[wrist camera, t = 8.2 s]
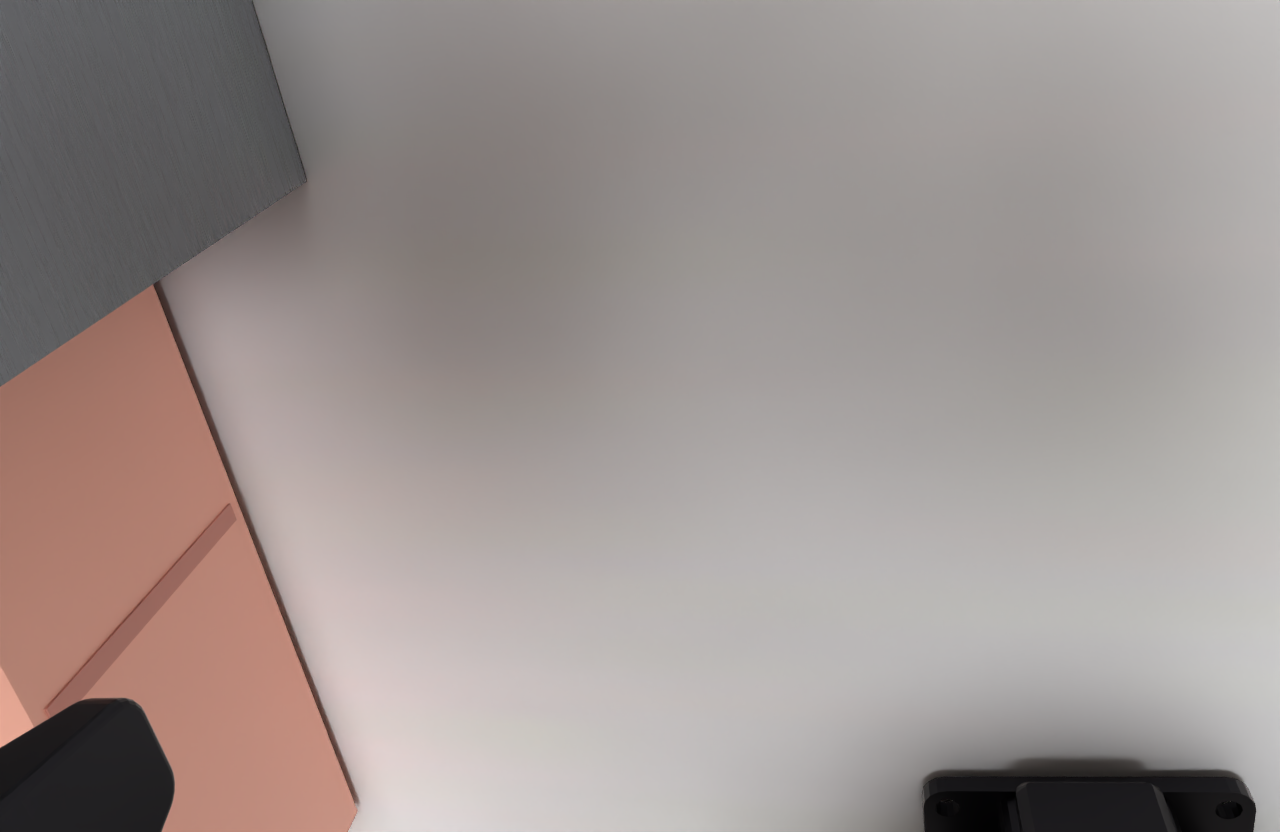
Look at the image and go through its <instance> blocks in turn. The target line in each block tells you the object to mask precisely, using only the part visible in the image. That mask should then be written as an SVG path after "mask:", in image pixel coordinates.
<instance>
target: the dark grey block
mask: <svg viewBox="0 0 1280 832" xmlns="http://www.w3.org/2000/svg"><path fill="white" fill-rule="evenodd" d="M306 181H307V180H306V177H305V174H304V171H303V167H302V164H301V161H300V158H299V154H298V151H297V148H296V145H295V141H294V138H293V135H292V131H291V128H290V125H289V122H288V118H287V115H286V112H285V109H284V105H283V102H282V99H281V96H280V92H279V89H278V86H277V82H276V79H275V76H274V73H273V69H272V66H271V63H270V60H269V56H268V53H267V50H266V47H265V43H264V40H263V37H262V34H261V30H260V27H259V24H258V20H257V17H256V14H255V11H254V7H253V4H252V1H251V0H0V387H1V386H2V385H4V384H5V383H7V382H8V381H10V380H11V379H13V378H14V377H16V376H17V375H19V374H20V373H22V372H23V371H24V370H26V369H27V368H29V367H30V366H32V365H33V364H35V363H36V362H38V361H39V360H41V359H42V358H44V357H45V356H47V355H48V354H50V353H51V352H53V351H54V350H56V349H57V348H59V347H60V346H62V345H63V344H65V343H66V342H68V341H69V340H71V339H72V338H74V337H75V336H77V335H78V334H80V333H81V332H83V331H84V330H86V329H87V328H89V327H90V326H92V325H93V324H95V323H96V322H98V321H99V320H101V319H102V318H103V317H105V316H106V315H108V314H109V313H111V312H112V311H114V310H115V309H117V308H118V307H120V306H121V305H123V304H124V303H126V302H127V301H129V300H130V299H132V298H133V297H135V296H136V295H138V294H139V293H141V292H142V291H144V290H145V289H147V288H148V287H150V286H151V285H153V284H154V283H156V282H157V281H159V280H160V279H162V278H163V277H165V276H166V275H168V274H169V273H171V272H172V271H174V270H175V269H177V268H178V267H179V266H181V265H182V264H184V263H185V262H187V261H188V260H190V259H191V258H193V257H194V256H196V255H197V254H199V253H200V252H202V251H203V250H205V249H206V248H208V247H209V246H211V245H212V244H214V243H215V242H217V241H218V240H220V239H221V238H223V237H224V236H226V235H227V234H229V233H230V232H232V231H233V230H235V229H236V228H238V227H239V226H241V225H242V224H244V223H245V222H247V221H248V220H250V219H251V218H253V217H254V216H255V215H257V214H258V213H260V212H261V211H263V210H264V209H266V208H267V207H269V206H270V205H272V204H273V203H275V202H276V201H278V200H279V199H281V198H282V197H284V196H285V195H287V194H288V193H290V192H291V191H293V190H294V189H296V188H297V187H299V186H300V185H302V184H303V183H305V182H306Z"/></svg>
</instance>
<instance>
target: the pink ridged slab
mask: <svg viewBox="0 0 1280 832" xmlns="http://www.w3.org/2000/svg"><path fill="white" fill-rule="evenodd" d="M90 698H128V699H132V700H134V701H135V702H136V703H138V704H139V705H140V706H141V707H142V708H143V710H144V712H145V713H146V715H147V718H148V720H149V722H150V724H151V726H152V728H153V730H154V732H155V734H156V736H157V738H158V740H159V742H160V745H161V747H162V749H163V751H164V753H165V755H166V757H167V759H168V761H169V763H170V765H171V767H172V770H173V773H174V779H175V793H174V799H173V803H172V806H171V809H170V811H169V814H168V817H167V819H166V822H165V824H164V827H163V830H162V832H348V830H349V828H350V826H351V824H352V822H353V820H354V818H355V816H356V814H357V812H358V811H357V808H356V806H355V803H354V800H353V798H352V795H351V793H350V790H349V787H348V785H347V782H346V780H345V777H344V775H343V772H342V769H341V767H340V764H339V762H338V759H337V757H336V754H335V751H334V749H333V746H332V744H331V741H330V739H329V736H328V733H327V731H326V728H325V726H324V723H323V721H322V718H321V715H320V713H319V710H318V708H317V705H316V703H315V700H314V697H313V695H312V692H311V690H310V687H309V685H308V682H307V679H306V677H305V674H304V672H303V669H302V666H301V664H300V661H299V659H298V656H297V654H296V651H295V648H294V646H293V643H292V641H291V638H290V636H289V633H288V630H287V628H286V625H285V623H284V620H283V618H282V615H281V612H280V610H279V607H278V605H277V602H276V600H275V597H274V594H273V592H272V589H271V587H270V584H269V582H268V579H267V576H266V574H265V571H264V569H263V566H262V564H261V561H260V558H259V556H258V553H257V551H256V548H255V545H254V543H253V540H252V538H251V535H250V533H249V530H248V527H247V525H246V522H245V520H244V517H243V515H242V512H241V509H240V507H239V504H238V502H237V499H236V497H235V494H234V491H233V489H232V486H231V484H230V481H229V479H228V476H227V473H226V471H225V468H224V466H223V463H222V461H221V458H220V455H219V453H218V450H217V448H216V445H215V443H214V440H213V437H212V435H211V432H210V430H209V427H208V424H207V422H206V419H205V417H204V414H203V412H202V409H201V406H200V404H199V401H198V399H197V396H196V394H195V391H194V388H193V386H192V383H191V381H190V378H189V376H188V373H187V370H186V368H185V365H184V363H183V360H182V358H181V355H180V352H179V350H178V347H177V345H176V342H175V340H174V337H173V334H172V332H171V329H170V327H169V324H168V322H167V319H166V316H165V314H164V311H163V309H162V306H161V304H160V301H159V298H158V296H157V293H156V291H155V288H154V285H151V286H150V287H148V288H147V289H145V290H144V291H142V292H141V293H139V294H138V295H136V296H135V297H133V298H132V299H130V300H129V301H127V302H126V303H124V304H123V305H121V306H120V307H118V308H117V309H115V310H114V311H112V312H111V313H109V314H108V315H106V316H105V317H103V318H102V319H101V320H99V321H98V322H96V323H95V324H93V325H92V326H90V327H89V328H87V329H86V330H84V331H83V332H81V333H80V334H78V335H77V336H75V337H74V338H72V339H71V340H69V341H68V342H66V343H65V344H63V345H62V346H60V347H59V348H57V349H56V350H54V351H53V352H51V353H50V354H48V355H47V356H45V357H44V358H42V359H41V360H39V361H38V362H36V363H35V364H33V365H32V366H30V367H29V368H27V369H26V370H24V371H23V372H22V373H20V374H19V375H17V376H16V377H14V378H13V379H11V380H10V381H8V382H7V383H5V384H4V385H2V386H1V387H0V748H1V747H2V746H4V745H6V744H7V743H9V742H11V741H12V740H14V739H16V738H17V737H19V736H21V735H22V734H24V733H25V732H27V731H29V730H30V729H32V728H34V727H35V726H37V725H39V724H40V723H42V722H44V721H45V720H47V719H49V718H50V717H52V716H54V715H55V714H57V713H59V712H60V711H62V710H64V709H65V708H67V707H69V706H70V705H72V704H74V703H76V702H78V701H81V700H84V699H90Z"/></svg>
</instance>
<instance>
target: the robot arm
mask: <svg viewBox="0 0 1280 832" xmlns="http://www.w3.org/2000/svg"><path fill="white" fill-rule="evenodd" d="M174 793H175V779H174V773H173V770H172V767H171V765H170V763H169V761H168V759H167V757H166V755H165V753H164V751H163V749H162V747H161V745H160V742H159V740H158V738H157V736H156V734H155V732H154V730H153V728H152V726H151V724H150V722H149V720H148V718H147V715H146V713H145V712H144V710H143V708H142V707H141V706H140V705H139V704H138V703H136V702H135V701H134V700H132V699H128V698H90V699H84V700H81V701H78V702H76V703H74V704H72V705H70V706H69V707H67V708H65V709H64V710H62V711H60V712H59V713H57V714H55V715H54V716H52V717H50V718H49V719H47V720H45V721H44V722H42V723H40V724H39V725H37V726H35V727H34V728H32V729H30V730H29V731H27V732H25V733H24V734H22V735H21V736H19V737H17V738H16V739H14V740H12V741H11V742H9V743H7V744H6V745H4V746H2V747H1V748H0V832H162V830H163V827H164V824H165V822H166V819H167V817H168V814H169V811H170V809H171V806H172V803H173V799H174ZM946 799H948V800H953V801H950V802H942V801H941V800H946ZM922 801H923V817H924V832H1253V830H1254V822H1255V814H1256V807H1255V803H1254V800H1253V798H1252V796H1251V793H1250V791H1249V789H1248V787H1247V786H1246V785H1245V784H1244V783H1243V782H1241V781H1239V780H1237V779H1235V778H1227V777H940V778H935V779H933V780H931V781H929V782H928V783H927V784H926V785H925V786H924V787H923V791H922ZM1227 801H1231V802H1229V803H1225V804H1221V803H1222V802H1227Z"/></svg>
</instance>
